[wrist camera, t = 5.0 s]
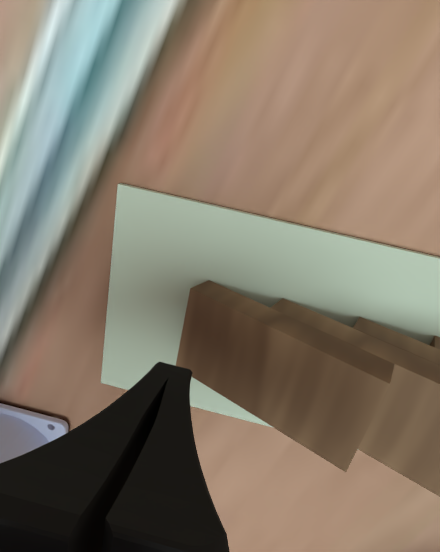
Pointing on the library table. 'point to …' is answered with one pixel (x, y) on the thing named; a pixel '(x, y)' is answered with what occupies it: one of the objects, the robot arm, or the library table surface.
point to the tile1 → (283, 370)
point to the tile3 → (398, 340)
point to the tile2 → (394, 403)
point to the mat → (246, 280)
